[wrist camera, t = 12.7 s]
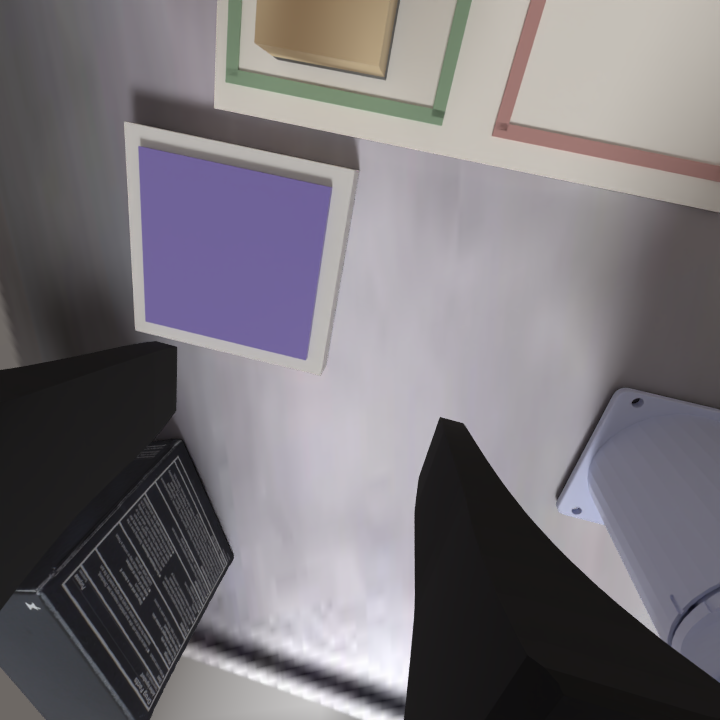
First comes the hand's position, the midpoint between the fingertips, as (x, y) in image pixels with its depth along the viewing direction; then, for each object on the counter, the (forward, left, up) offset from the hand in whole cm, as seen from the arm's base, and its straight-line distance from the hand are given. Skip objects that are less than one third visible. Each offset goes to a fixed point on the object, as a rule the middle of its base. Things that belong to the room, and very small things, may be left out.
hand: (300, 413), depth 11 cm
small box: (+10, +17, -11) cm, 22 cm away
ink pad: (+6, -1, -10) cm, 12 cm away
